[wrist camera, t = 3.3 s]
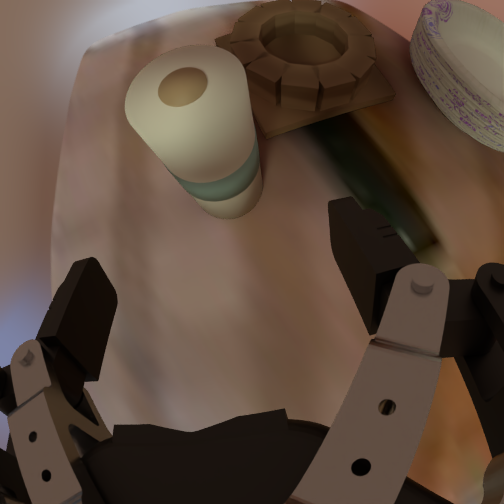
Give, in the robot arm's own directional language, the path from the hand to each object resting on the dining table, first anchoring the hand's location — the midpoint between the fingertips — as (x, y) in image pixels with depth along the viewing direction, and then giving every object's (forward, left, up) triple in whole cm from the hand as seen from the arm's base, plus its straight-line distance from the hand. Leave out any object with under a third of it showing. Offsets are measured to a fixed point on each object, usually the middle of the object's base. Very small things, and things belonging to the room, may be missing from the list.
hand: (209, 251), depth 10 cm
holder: (-11, -15, -12) cm, 22 cm away
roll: (-1, -6, -12) cm, 13 cm away
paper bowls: (-26, -7, -12) cm, 30 cm away
